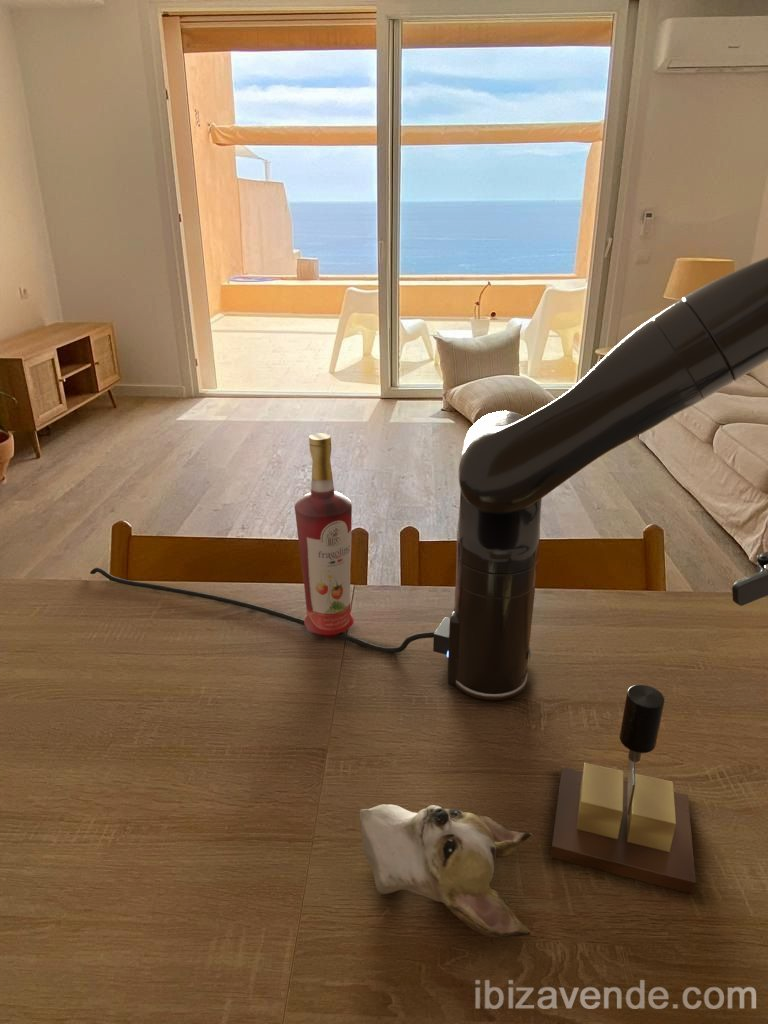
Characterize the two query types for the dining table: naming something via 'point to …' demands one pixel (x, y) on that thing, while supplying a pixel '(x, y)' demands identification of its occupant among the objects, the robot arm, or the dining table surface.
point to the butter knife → (640, 727)
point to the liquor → (325, 546)
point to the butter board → (624, 827)
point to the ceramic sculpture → (443, 861)
